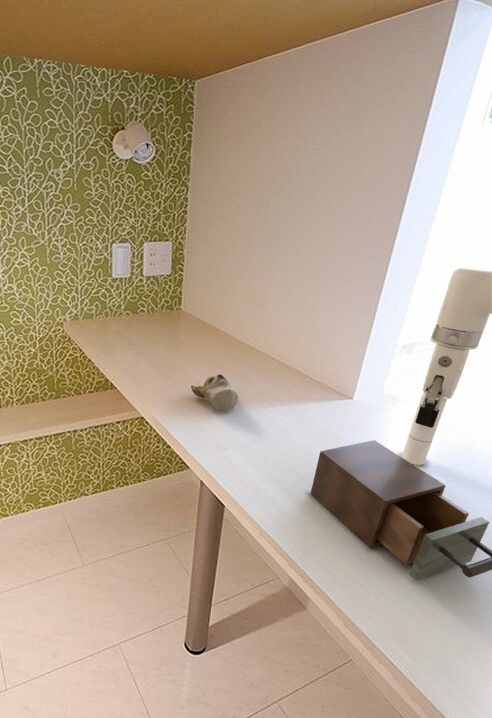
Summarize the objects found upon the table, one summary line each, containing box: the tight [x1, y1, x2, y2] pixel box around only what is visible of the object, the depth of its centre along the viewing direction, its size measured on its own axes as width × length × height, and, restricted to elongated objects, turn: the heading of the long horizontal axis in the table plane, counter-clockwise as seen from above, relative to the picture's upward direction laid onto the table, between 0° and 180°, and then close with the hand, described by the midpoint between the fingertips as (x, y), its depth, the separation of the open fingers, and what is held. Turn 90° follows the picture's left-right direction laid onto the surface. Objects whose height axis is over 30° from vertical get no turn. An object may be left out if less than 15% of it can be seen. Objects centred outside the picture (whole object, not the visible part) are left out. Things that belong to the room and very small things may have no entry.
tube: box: [401, 392, 448, 466], centre depth 90 cm, size 4×4×15 cm
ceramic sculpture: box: [190, 374, 239, 413], centre depth 115 cm, size 11×9×15 cm
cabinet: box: [310, 439, 446, 549], centre depth 76 cm, size 15×13×10 cm
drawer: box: [377, 492, 492, 581], centre depth 67 cm, size 18×11×8 cm, turn 20°
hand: (426, 419), depth 89 cm, fingers closed on tube, 4 cm apart
